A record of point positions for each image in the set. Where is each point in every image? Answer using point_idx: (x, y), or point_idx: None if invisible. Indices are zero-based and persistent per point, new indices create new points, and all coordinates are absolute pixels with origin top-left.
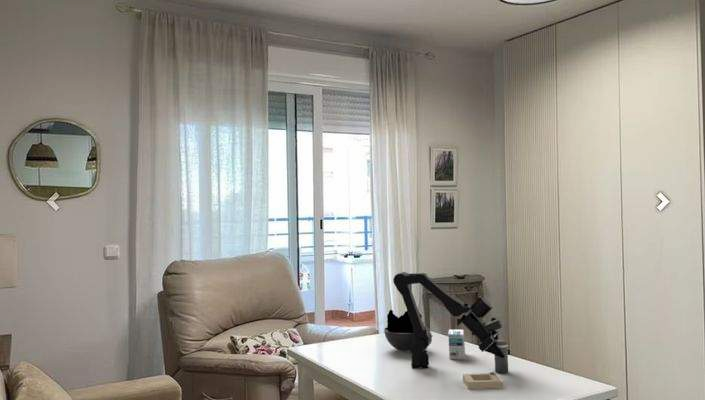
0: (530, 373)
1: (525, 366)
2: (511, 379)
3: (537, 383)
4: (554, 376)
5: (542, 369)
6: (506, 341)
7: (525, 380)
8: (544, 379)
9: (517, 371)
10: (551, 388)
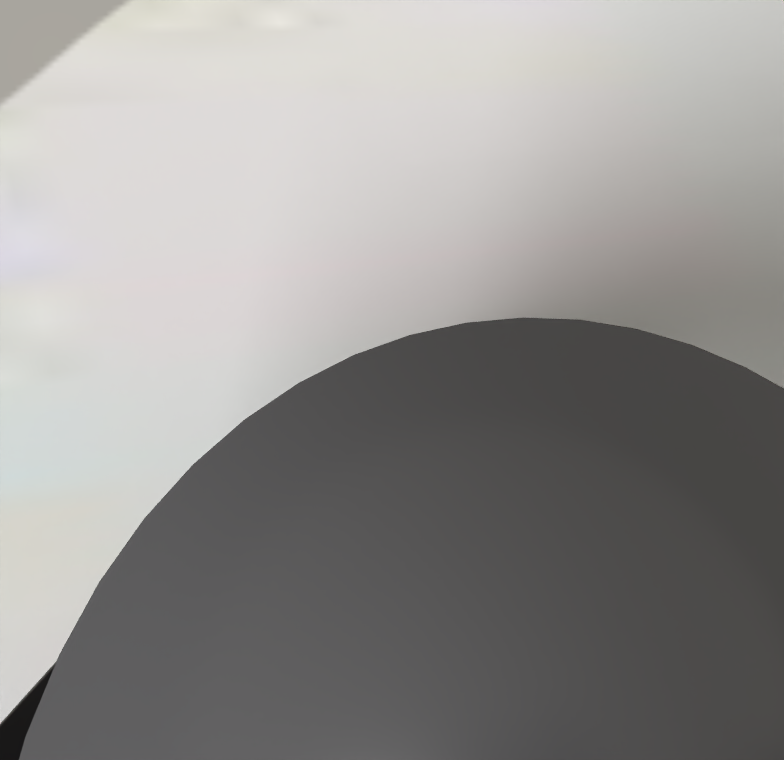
0: (331, 221)
1: (7, 310)
2: None
3: (668, 129)
4: (363, 3)
5: (114, 114)
6: (509, 361)
7: (626, 243)
8: (506, 79)
9: (291, 375)
10: (751, 19)
